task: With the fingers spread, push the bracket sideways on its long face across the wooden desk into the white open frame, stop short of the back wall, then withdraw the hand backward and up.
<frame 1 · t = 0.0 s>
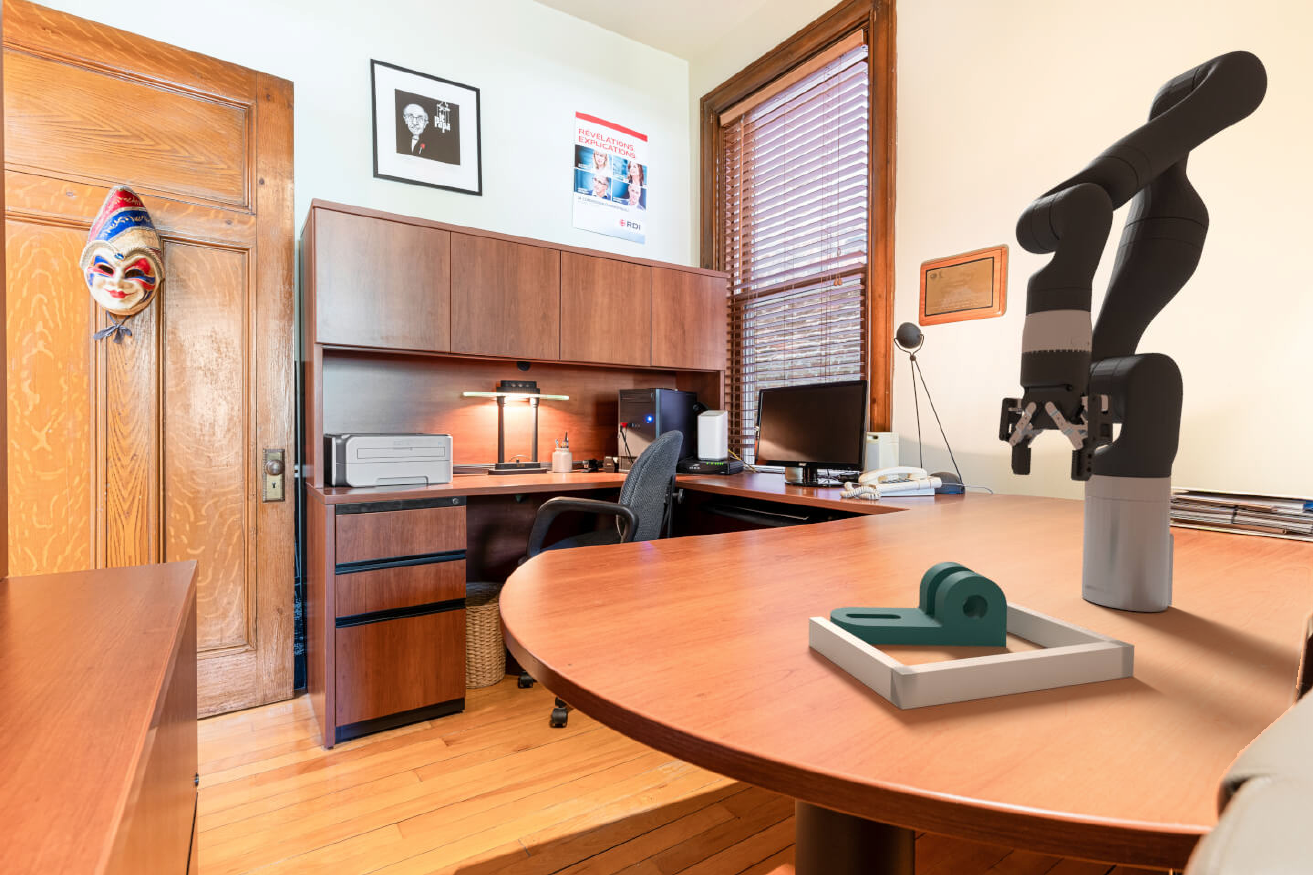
hand: (1049, 477, 79), 17 cm above the table, tool pointing down, fingers open, 8 cm apart
white open frame: (960, 659, 63), on the table
bracket: (910, 637, 71), on the table
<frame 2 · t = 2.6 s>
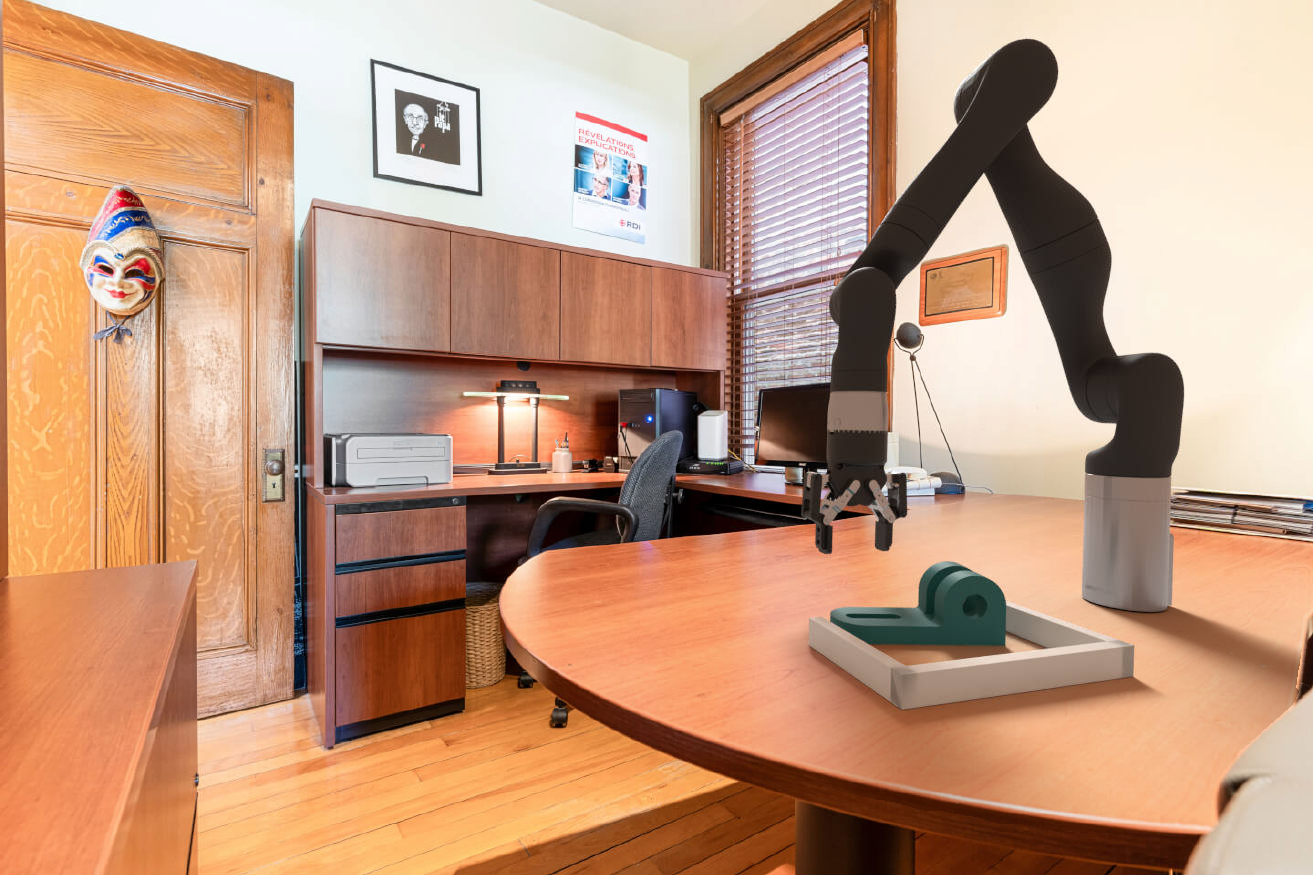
hand: (853, 551, 81), 7 cm above the table, tool pointing down, fingers open, 8 cm apart
nothing on the table moved.
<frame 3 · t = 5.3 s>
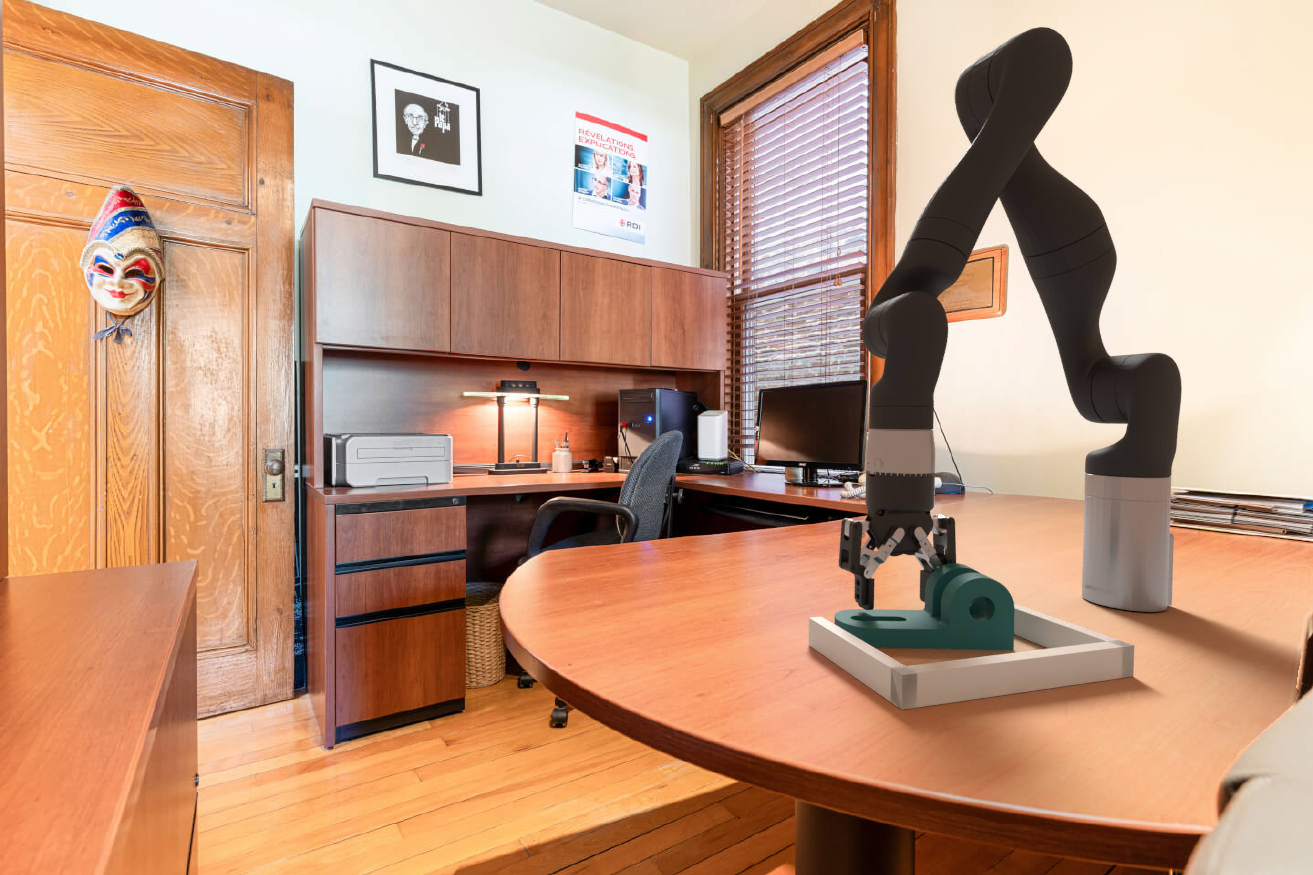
hand: (897, 605, 73), 3 cm above the table, tool pointing down, fingers open, 8 cm apart
bracket: (915, 640, 70), on the table, touching gripper
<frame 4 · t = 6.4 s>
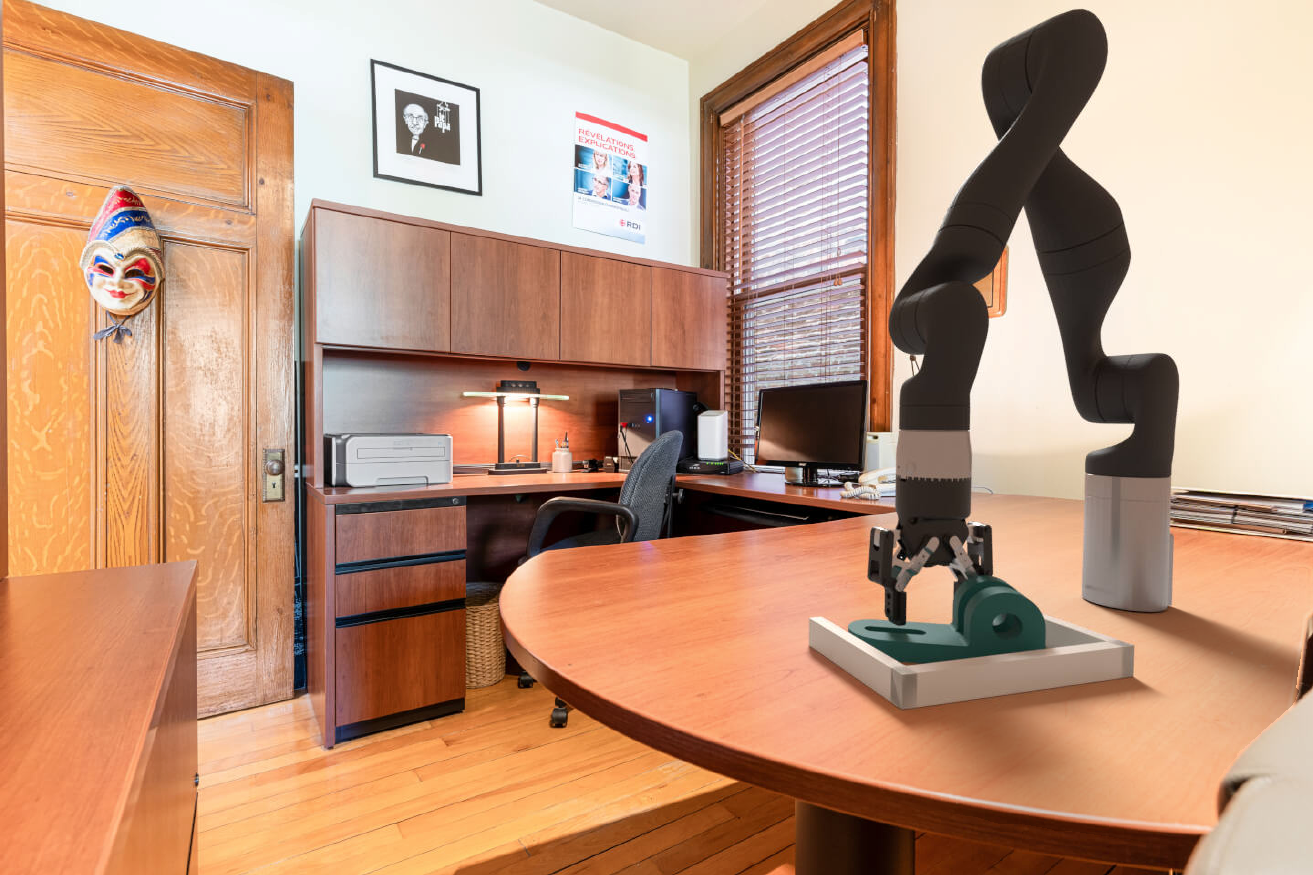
hand: (930, 620, 68), 3 cm above the table, tool pointing down, fingers open, 8 cm apart
bracket: (936, 656, 65), on the table
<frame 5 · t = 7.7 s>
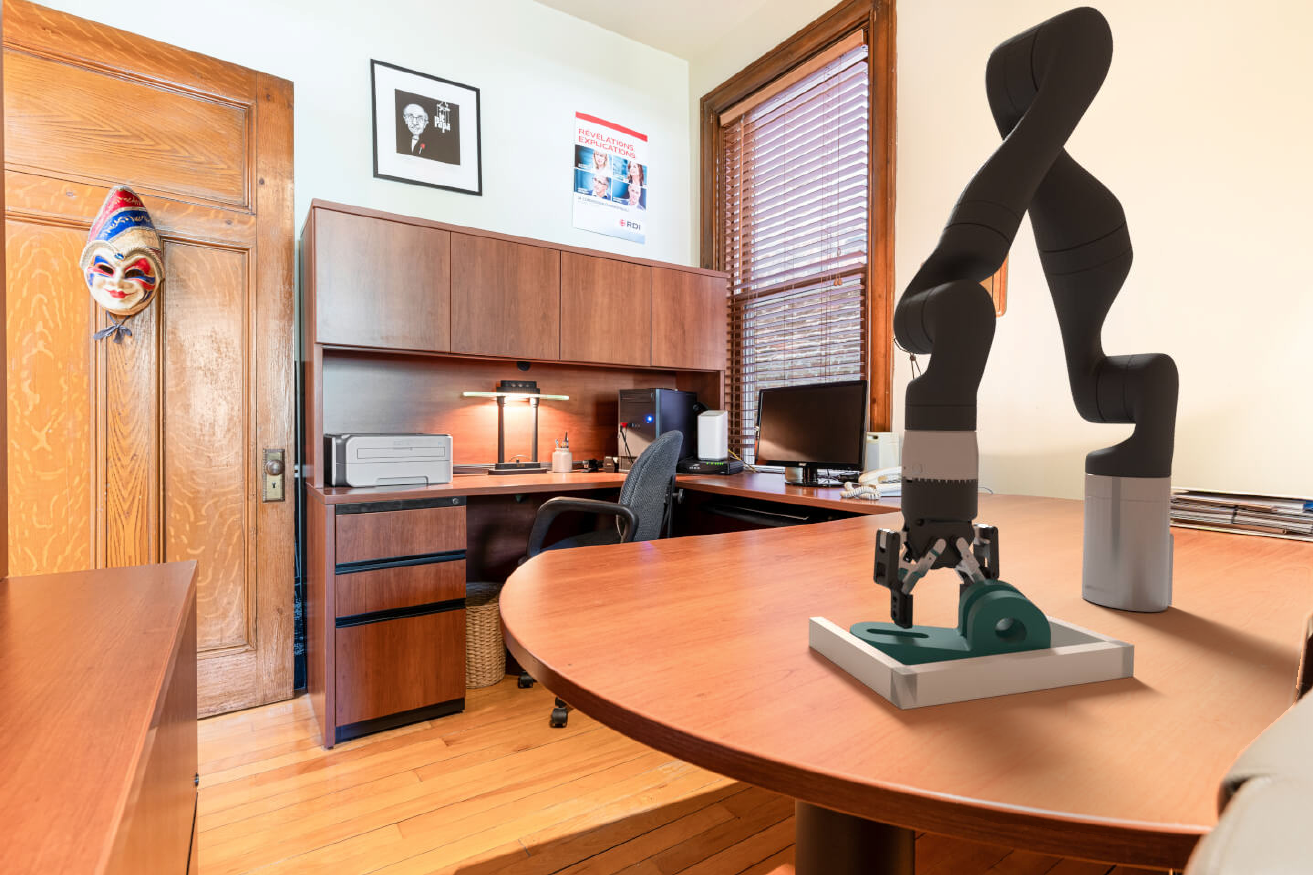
hand: (936, 623, 67), 3 cm above the table, tool pointing down, fingers open, 8 cm apart
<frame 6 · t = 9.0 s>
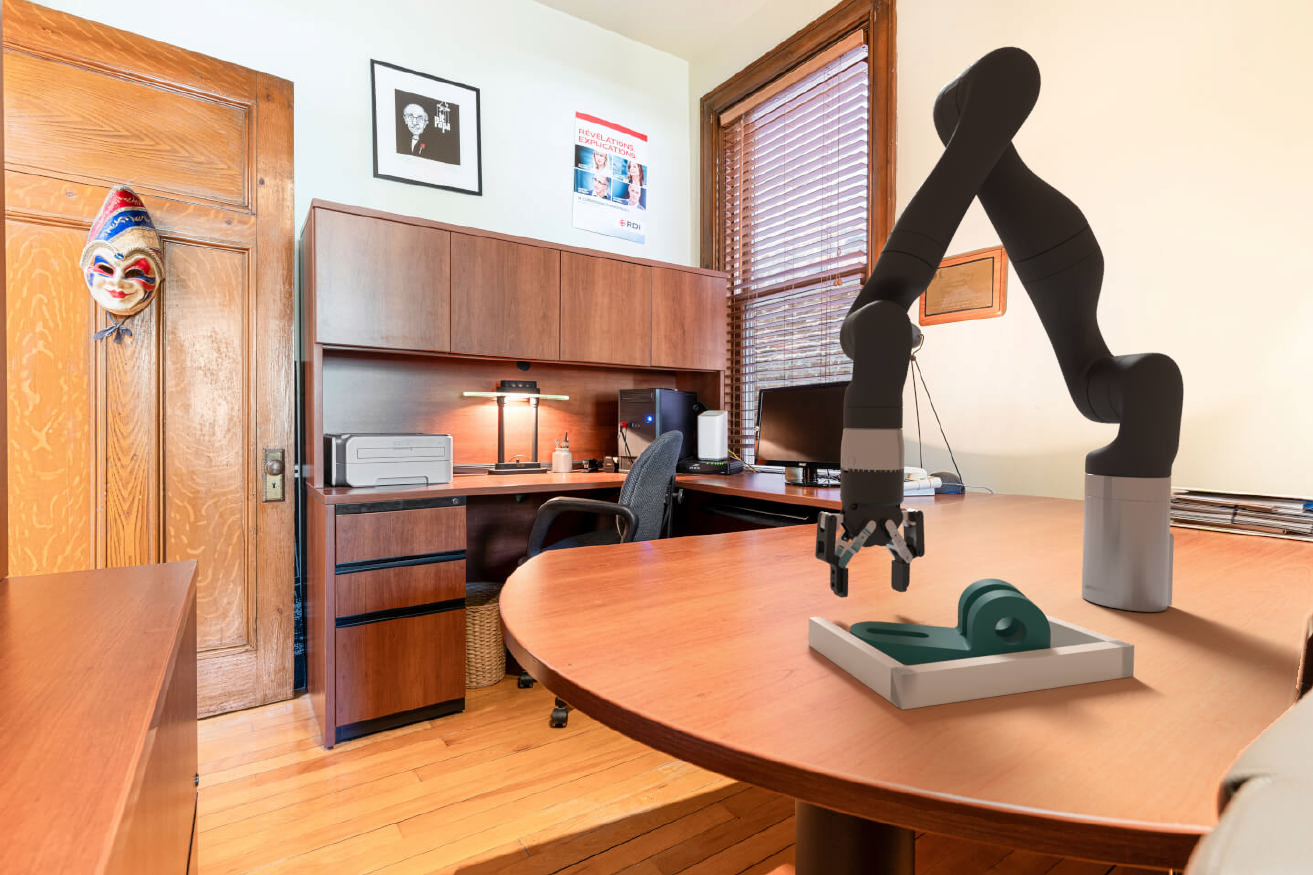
hand: (870, 593, 78), 3 cm above the table, tool pointing down, fingers open, 8 cm apart
nothing on the table moved.
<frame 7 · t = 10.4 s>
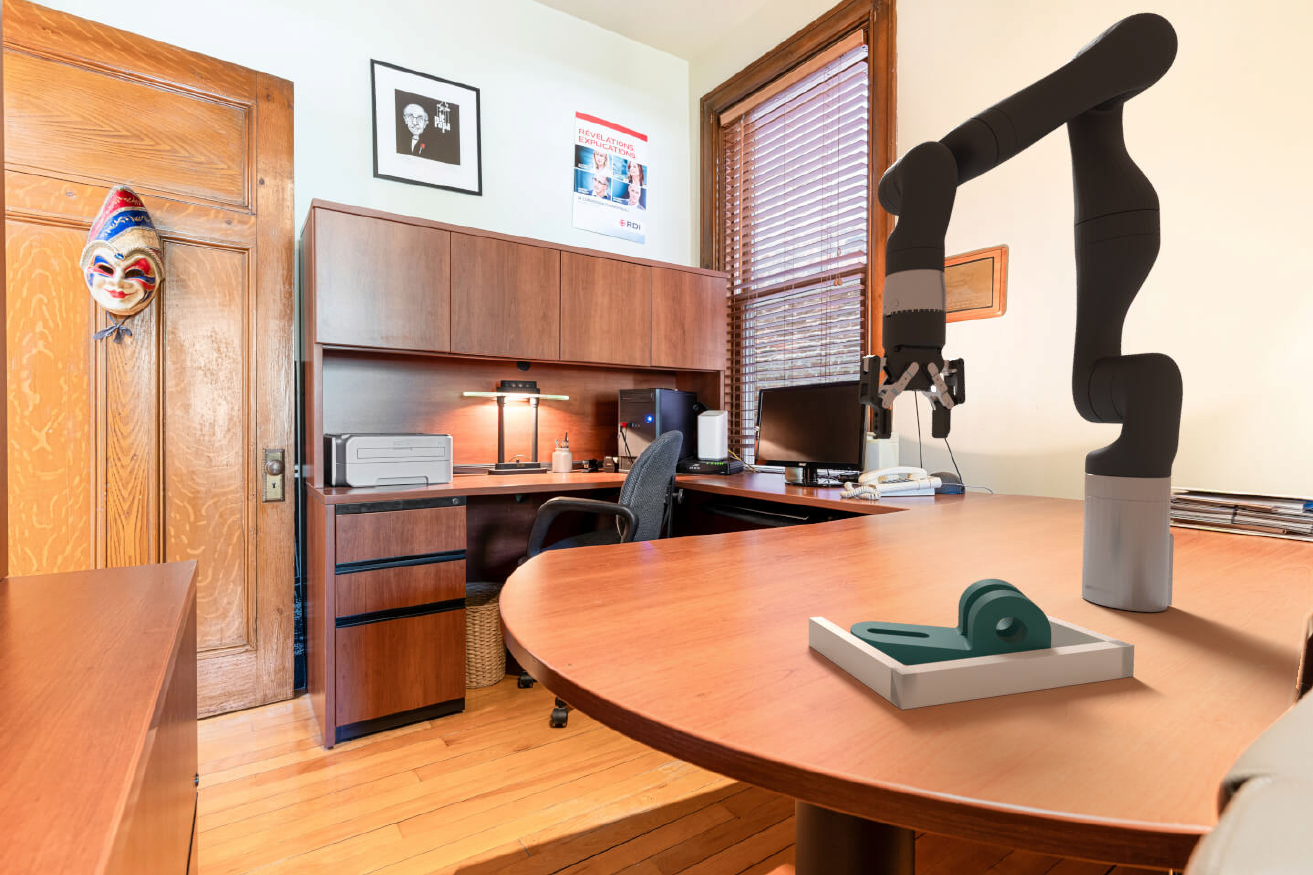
hand: (911, 438, 79), 22 cm above the table, tool pointing down, fingers open, 8 cm apart
nothing on the table moved.
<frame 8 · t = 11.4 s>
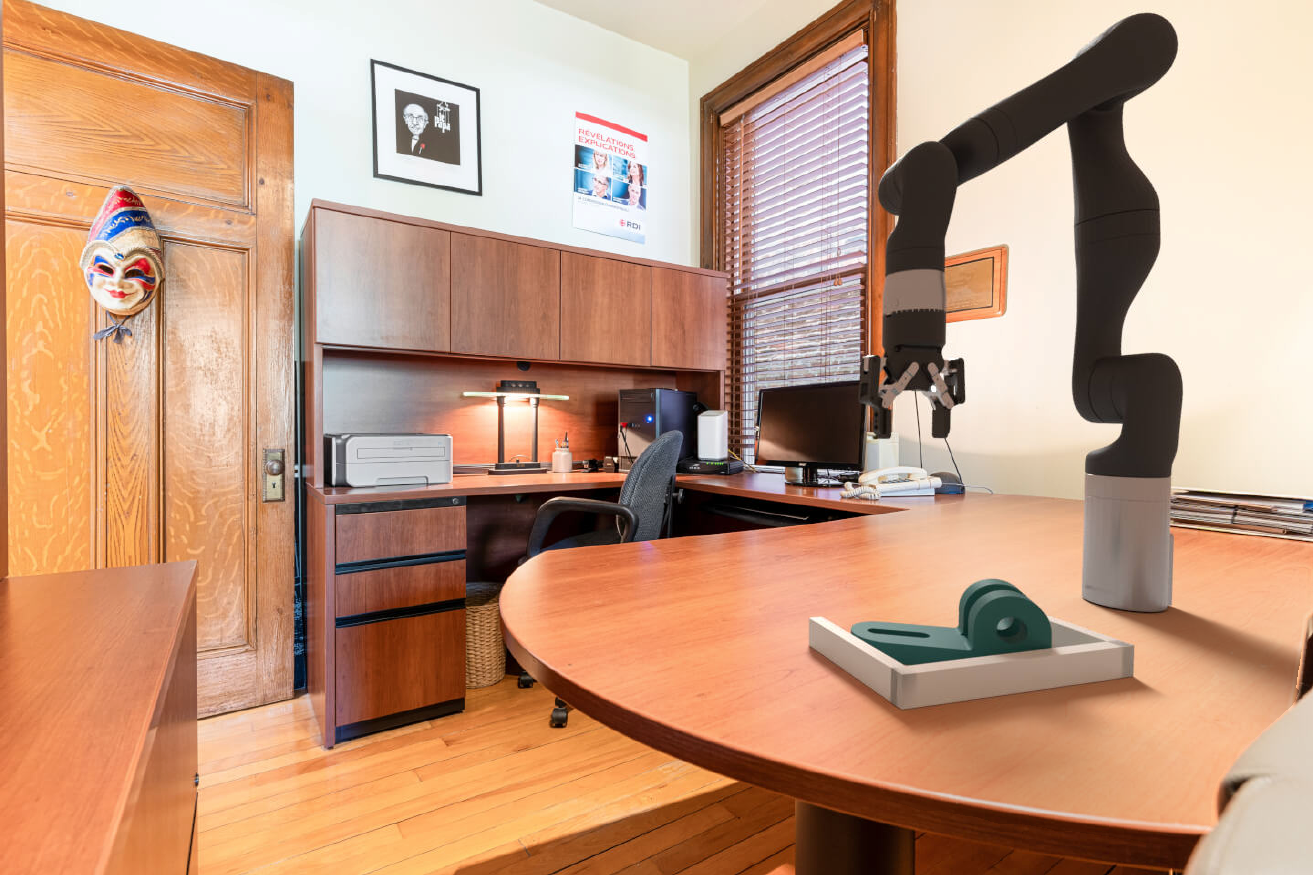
hand: (911, 438, 79), 22 cm above the table, tool pointing down, fingers open, 8 cm apart
nothing on the table moved.
at the end: bracket inside the target area (2.6 cm from its centre), on the table; bracket tilted 0°; the gripper is holding nothing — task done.
